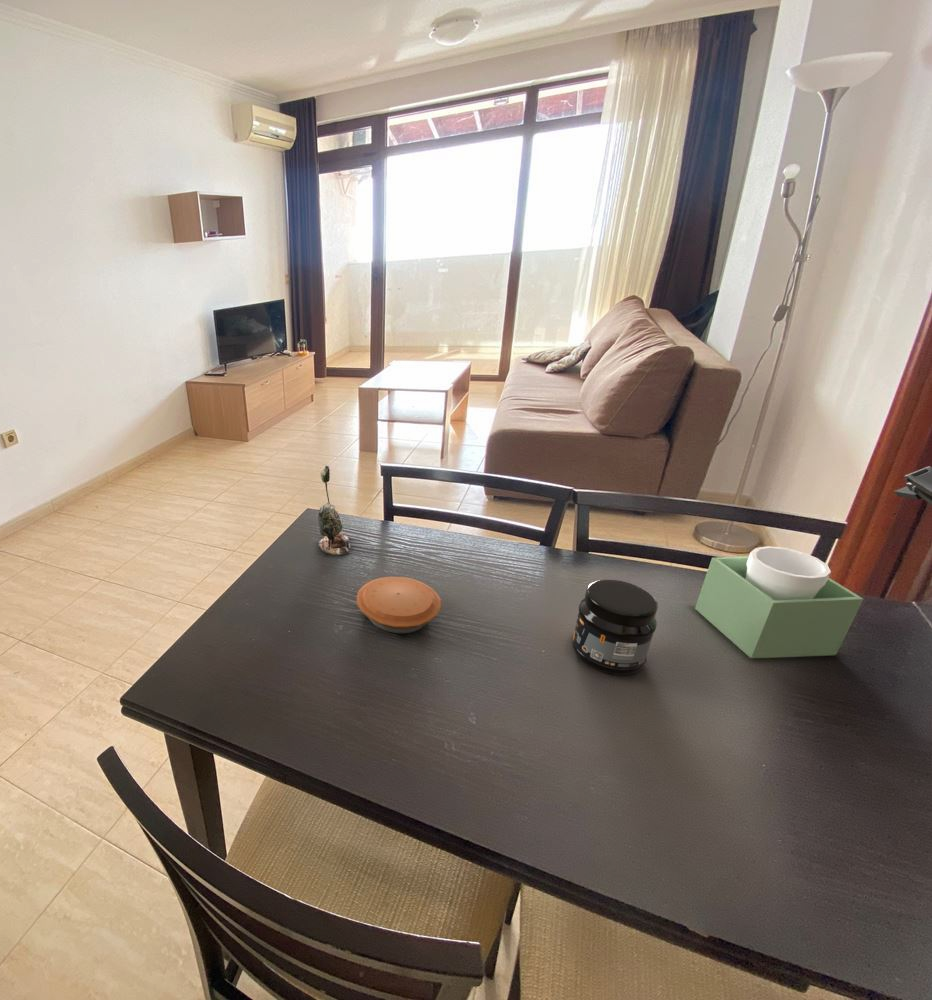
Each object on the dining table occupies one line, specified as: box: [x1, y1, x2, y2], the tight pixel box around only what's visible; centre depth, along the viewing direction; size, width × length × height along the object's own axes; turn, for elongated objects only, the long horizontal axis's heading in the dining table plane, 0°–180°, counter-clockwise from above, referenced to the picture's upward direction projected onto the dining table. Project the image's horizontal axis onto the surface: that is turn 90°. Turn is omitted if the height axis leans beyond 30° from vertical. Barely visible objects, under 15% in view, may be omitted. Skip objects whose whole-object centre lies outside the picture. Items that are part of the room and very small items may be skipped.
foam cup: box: [745, 546, 832, 601], centre depth 88 cm, size 10×9×13 cm
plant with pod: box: [317, 465, 352, 556], centre depth 123 cm, size 8×11×20 cm
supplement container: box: [571, 579, 659, 676], centre depth 87 cm, size 10×10×12 cm
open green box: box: [694, 555, 864, 659], centre depth 89 cm, size 13×13×11 cm
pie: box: [356, 576, 442, 634], centre depth 102 cm, size 15×16×5 cm
